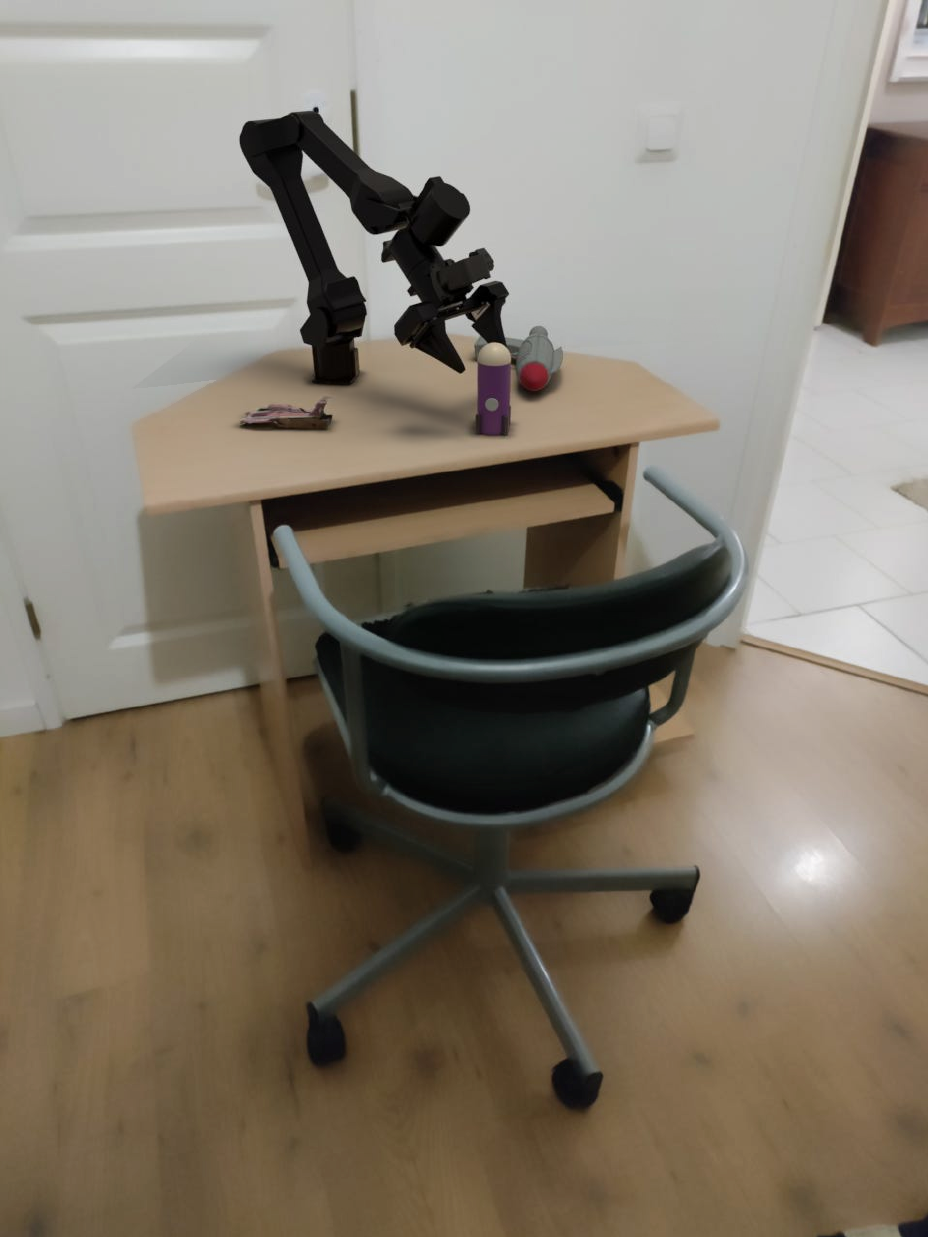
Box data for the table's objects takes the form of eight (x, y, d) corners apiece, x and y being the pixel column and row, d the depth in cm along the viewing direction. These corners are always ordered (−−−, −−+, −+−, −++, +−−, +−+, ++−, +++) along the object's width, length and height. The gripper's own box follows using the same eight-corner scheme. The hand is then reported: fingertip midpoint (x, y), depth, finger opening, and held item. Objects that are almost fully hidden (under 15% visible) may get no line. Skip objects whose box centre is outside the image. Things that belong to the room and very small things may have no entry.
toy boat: (236, 429, 129) (232, 402, 127) (248, 414, 134) (244, 388, 131) (326, 433, 128) (323, 405, 125) (335, 418, 132) (333, 391, 130)
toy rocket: (475, 434, 127) (475, 347, 120) (479, 422, 131) (480, 337, 124) (507, 436, 127) (509, 349, 120) (510, 423, 131) (513, 338, 124)
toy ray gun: (480, 358, 160) (564, 349, 158) (466, 408, 139) (563, 399, 137) (476, 324, 157) (562, 314, 155) (461, 370, 136) (560, 360, 134)
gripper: (405, 240, 113) (472, 346, 113) (499, 219, 124) (560, 314, 124) (366, 295, 121) (428, 393, 121) (457, 270, 133) (514, 359, 133)
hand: (485, 363), depth 125 cm, fingers open, 9 cm apart
